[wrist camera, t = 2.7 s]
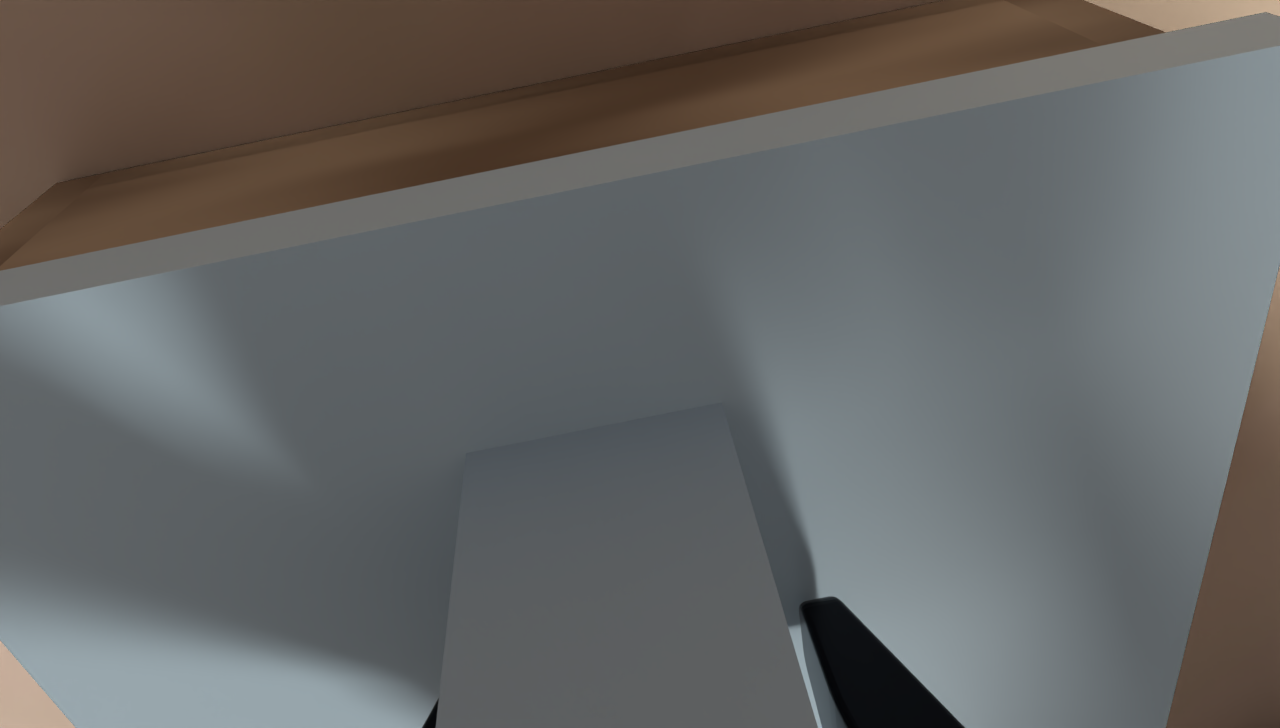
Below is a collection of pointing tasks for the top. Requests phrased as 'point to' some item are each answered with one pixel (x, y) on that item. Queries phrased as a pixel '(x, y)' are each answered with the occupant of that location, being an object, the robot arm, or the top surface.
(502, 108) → the box
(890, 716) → the robot arm
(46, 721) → the top surface
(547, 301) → the lid
